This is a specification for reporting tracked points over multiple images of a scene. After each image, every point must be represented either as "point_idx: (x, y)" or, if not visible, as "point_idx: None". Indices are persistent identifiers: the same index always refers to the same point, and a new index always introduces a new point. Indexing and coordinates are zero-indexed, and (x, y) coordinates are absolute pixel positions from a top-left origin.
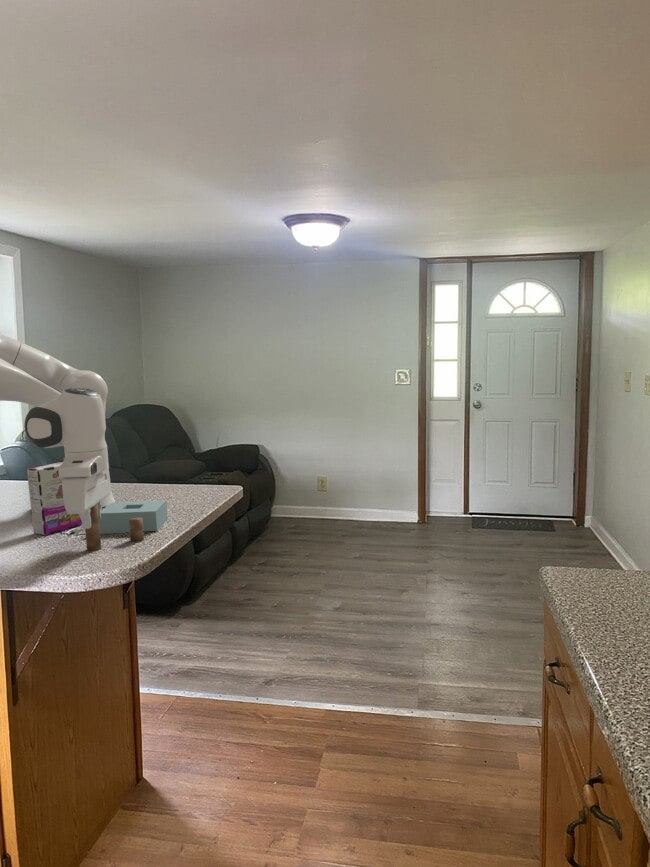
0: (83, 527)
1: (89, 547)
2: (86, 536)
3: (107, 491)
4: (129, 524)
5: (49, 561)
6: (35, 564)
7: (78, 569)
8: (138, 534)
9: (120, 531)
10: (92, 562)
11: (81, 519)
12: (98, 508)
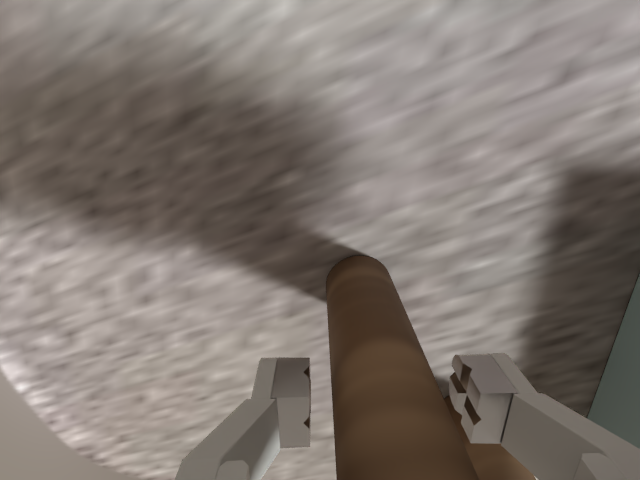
0: (260, 365)
1: (328, 285)
2: (342, 302)
3: None
4: (489, 465)
5: (165, 133)
6: (108, 70)
7: (64, 315)
8: None
9: (628, 324)
10: (160, 337)
11: (236, 412)
12: (544, 469)
